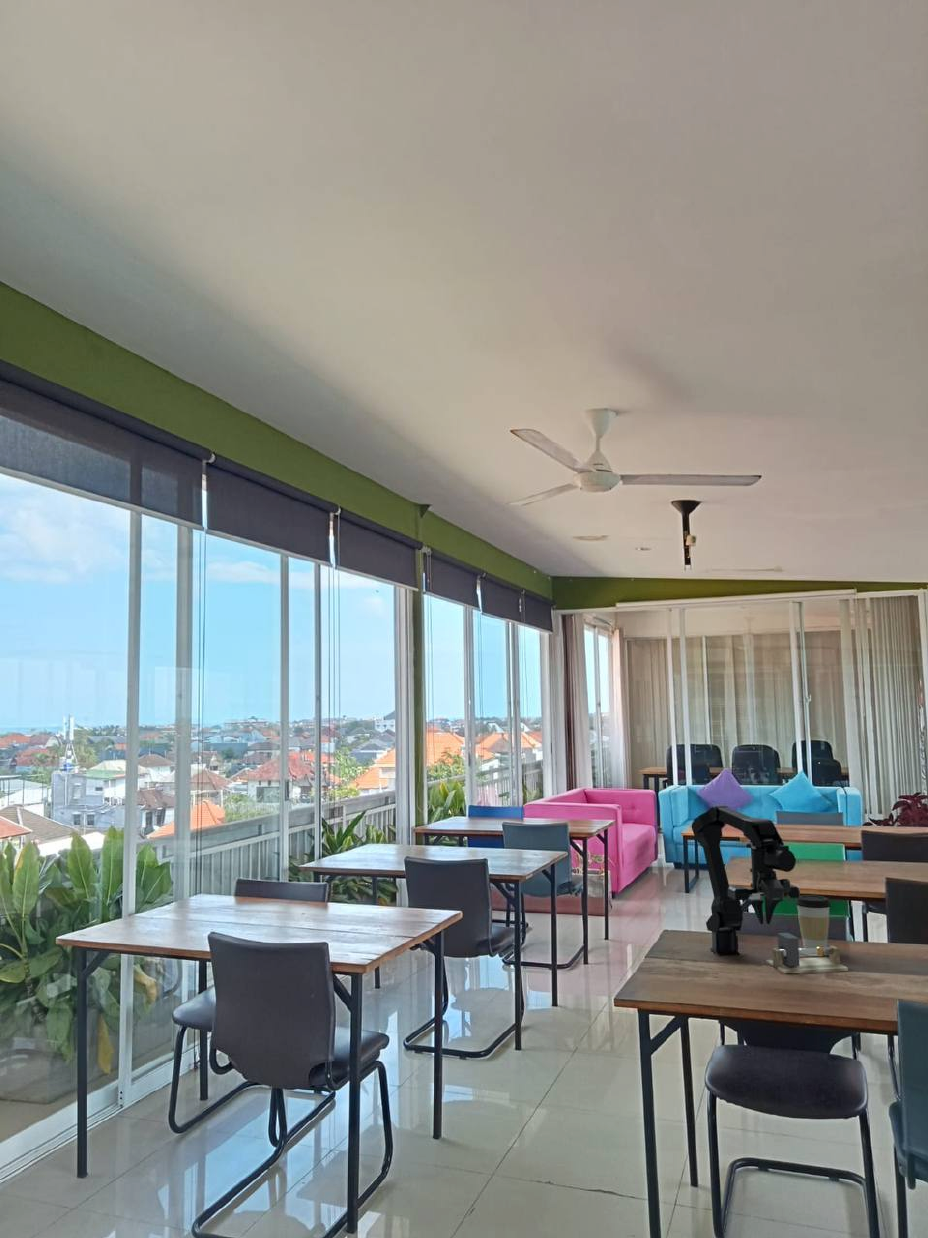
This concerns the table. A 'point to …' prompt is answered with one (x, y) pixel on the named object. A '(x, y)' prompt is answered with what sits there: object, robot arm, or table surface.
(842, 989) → the table surface
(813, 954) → the rod
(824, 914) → the coffee cup
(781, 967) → the stand
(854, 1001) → the table surface
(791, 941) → the collar
